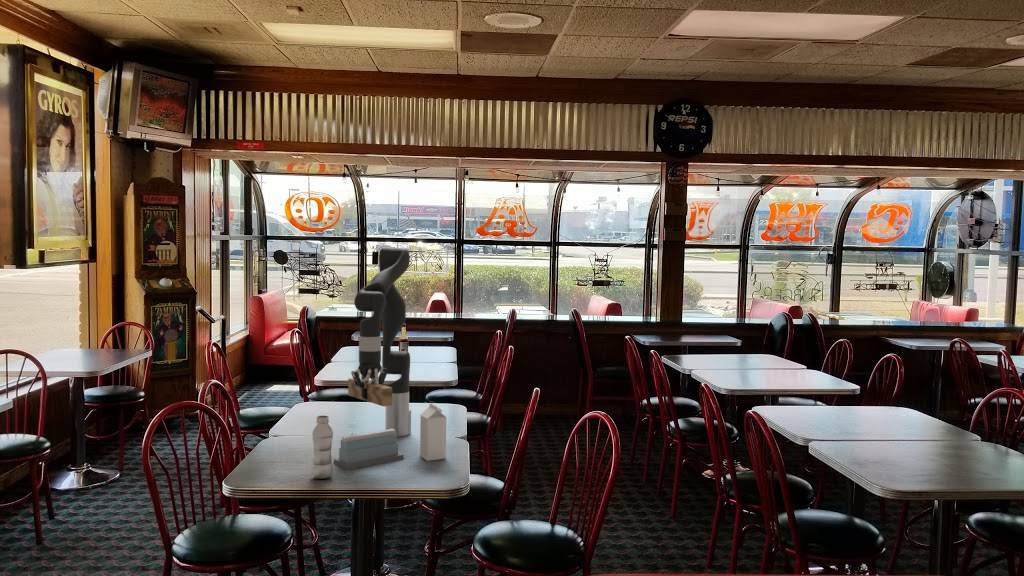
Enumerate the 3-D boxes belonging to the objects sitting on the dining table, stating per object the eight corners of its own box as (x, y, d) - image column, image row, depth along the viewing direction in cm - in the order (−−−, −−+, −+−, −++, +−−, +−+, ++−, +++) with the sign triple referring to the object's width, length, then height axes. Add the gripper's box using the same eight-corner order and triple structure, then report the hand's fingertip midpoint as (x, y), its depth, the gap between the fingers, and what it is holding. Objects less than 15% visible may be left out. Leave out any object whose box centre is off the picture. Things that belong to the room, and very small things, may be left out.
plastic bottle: (313, 475, 255) (313, 414, 254) (334, 474, 255) (334, 414, 254) (309, 481, 248) (309, 419, 247) (331, 481, 249) (331, 419, 248)
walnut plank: (392, 405, 263) (392, 387, 263) (383, 406, 261) (384, 388, 261) (356, 394, 281) (356, 377, 281) (348, 395, 279) (348, 378, 279)
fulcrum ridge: (388, 452, 283) (388, 426, 283) (403, 458, 276) (404, 431, 275) (333, 463, 269) (333, 435, 268) (348, 469, 261) (348, 441, 261)
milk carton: (427, 461, 273) (427, 407, 272) (419, 456, 279) (420, 403, 278) (446, 459, 276) (446, 405, 275) (438, 454, 283) (439, 402, 281)
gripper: (357, 351, 263) (357, 402, 264) (393, 348, 272) (392, 397, 273) (346, 349, 268) (346, 399, 269) (381, 346, 277) (381, 394, 278)
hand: (369, 398), depth 271 cm, fingers closed on walnut plank, 3 cm apart
